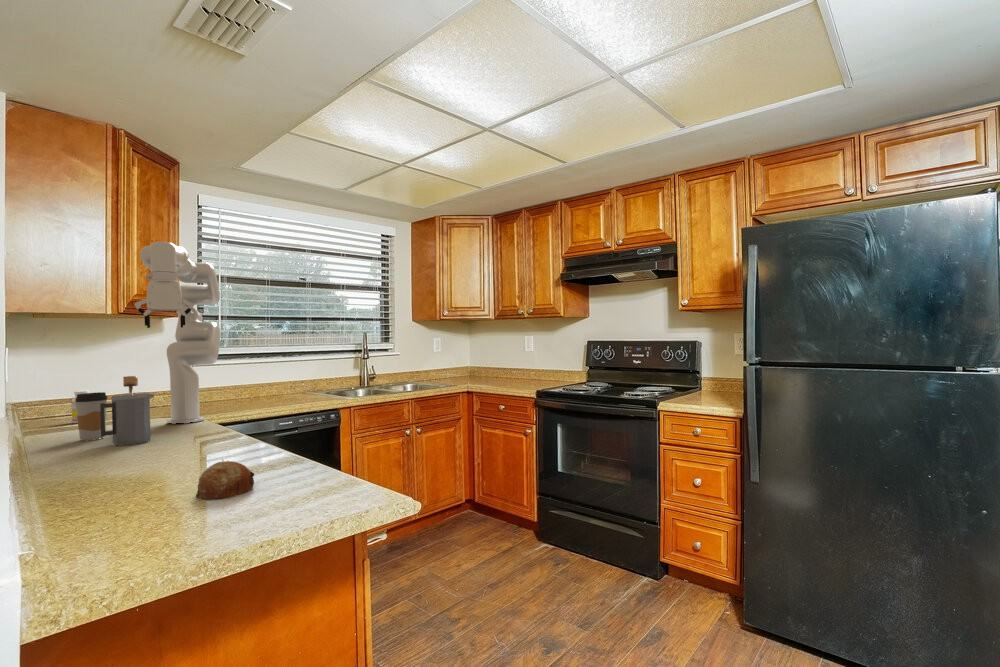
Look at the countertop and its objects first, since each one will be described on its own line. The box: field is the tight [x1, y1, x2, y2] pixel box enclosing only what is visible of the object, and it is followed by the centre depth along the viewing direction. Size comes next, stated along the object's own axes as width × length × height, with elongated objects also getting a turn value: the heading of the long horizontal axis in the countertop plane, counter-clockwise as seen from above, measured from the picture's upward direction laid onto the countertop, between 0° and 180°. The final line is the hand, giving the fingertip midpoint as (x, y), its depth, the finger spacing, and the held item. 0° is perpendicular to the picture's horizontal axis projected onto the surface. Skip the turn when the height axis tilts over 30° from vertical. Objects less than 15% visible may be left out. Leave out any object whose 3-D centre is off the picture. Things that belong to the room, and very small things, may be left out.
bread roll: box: [195, 460, 255, 501], centre depth 101 cm, size 10×10×8 cm
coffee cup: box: [75, 392, 108, 441], centre depth 167 cm, size 8×8×15 cm
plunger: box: [122, 375, 139, 394], centre depth 158 cm, size 6×6×19 cm
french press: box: [100, 391, 155, 446], centre depth 157 cm, size 9×13×15 cm
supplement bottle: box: [71, 389, 90, 424], centre depth 208 cm, size 7×7×13 cm
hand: (165, 327), depth 176 cm, fingers open, 9 cm apart
